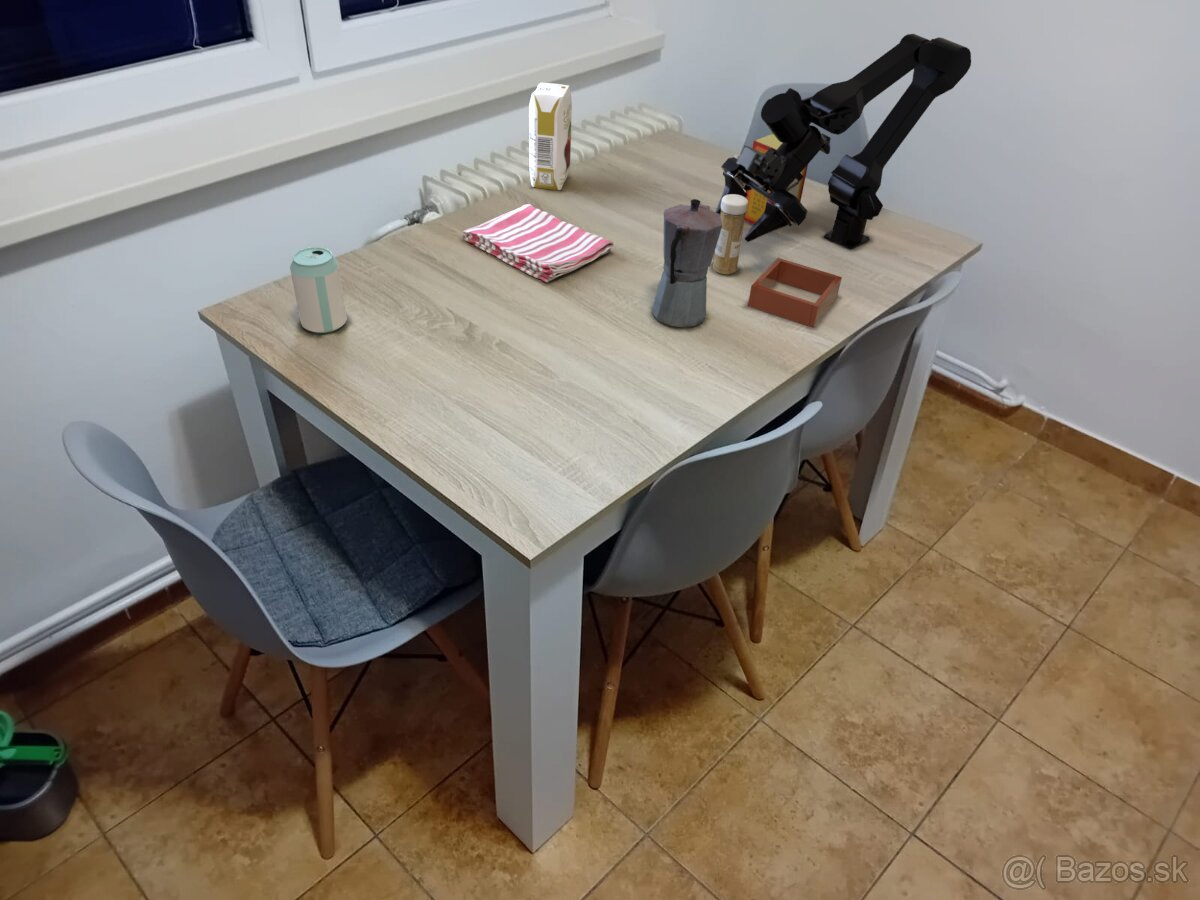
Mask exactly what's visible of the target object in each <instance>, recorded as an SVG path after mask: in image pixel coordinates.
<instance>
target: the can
mask: <svg viewBox="0 0 1200 900" xmlns="http://www.w3.org/2000/svg"><path fill="white" fill-rule="evenodd" d="M289 269H290V274H291V279H292V285H293V290H294V295H295V301H296V305H297V311H298V315H299V320H300V325H301V326H302V328H304V329H305V330H306V331H309V332H312V333H316V334H327V333H328V334H329V333H332V332H334V331H337V330H338V329H340V328H341V327H343V325H345V324H346V323H347V320H348V316H347V311H346V310H347V309H346V304H345V298H344V291H343V290H344V289H343V284H342V278H341V277H342V276H341V273H340V265H339V261H338V259H337V258H336V257H334V255H333V252H332V251H331V250H330V249H328V248H325V247H322V246H308V247H304V248H302V249H299V250H297V251H296V252H295V253H294V254H293V255H292V262H291V263H290V266H289Z"/></svg>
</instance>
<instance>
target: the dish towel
mask: <svg viewBox="0 0 1200 900" xmlns="http://www.w3.org/2000/svg"><path fill="white" fill-rule="evenodd" d="M461 236H462V238H463V240H464V241H466V242H467V243H470V244H472V245H474V246H475V247H477V248H479V249H480V250H482V251H484V252H487V253H488V254H491V255H493V256H494V257H496V258H497V259H498V260H501V261H502V262H504V263H505V264H508V265H509V266H511V267H514V268H516V269H518V270H520V271H521V272H523V273H525V274H526V275H527V274H528V275H529V276H531V277H533V278H535V279H538V280H541V281H542V282H544V283H549V282H551V281H553V280H555V279H557V278H558V277H561V276H563V275H567V274H569V273H571V272H573V271H576V270H578V269H579V268H581V267H583V266H584V265H587V264H589V263H592V262H593V261H595V260H596V259H599V257H602V256H604V255H606V254H608V253H610V251H611V250H612V249H613V247H614V243H615V242H613V241H611V240H608V239H606V238H604V237H602V236H600V235H597V234H594V233H592V232H588V231H585V230H584V229H582V228H580V227H579V226H576V225H574V224H573V223H569V222H567V221H564V220H562V219H560V218H558V217H556V216H555V215H553V214H551V213H549V212H547V211H544V210H542V209H539V208H537V207H535V206H533V205H532V204H531V203H526V204H523V205H521V207H518V208H516V209H513V210H511V211H509V212H506V213H503V214H501V215H499V216H497V217H495V218H493V219H489V220H488V221H485V222H484V223H482V224H480V225H477V226H474V227H470V228H467V229H465V230H463V231H462V232H461Z"/></svg>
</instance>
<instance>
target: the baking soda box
mask: <svg viewBox="0 0 1200 900" xmlns="http://www.w3.org/2000/svg"><path fill="white" fill-rule="evenodd" d="M782 143H783V142H780V141H778V139H777V138H776V137H775V135H774V134H773V133H771V134H767V135H766V136H763V137H761V138H758V139H755V140H753V142H752V148H753V149H755V150H758V151H760V152H762V153H766V152H767V151H768V149H771V148H773V149H775V150H777V149H778V147H779V146H780V145H781V144H782ZM808 166H809V164H808V165H807V166H806V167H805V168H804V169H803V171H802V172H801V174H802V176H803V178H802V179H801V180H800V182H799V181H798V180H796V179H795V180H794V181H793V182H792V183H791V184H790V186H789V187H788V188H787V189H786V191H788V192H789V193H791V194H793V195H794V196H796V197H797V199H798V200H799V201H800V202H801V203H802V197H803V192H804V187H805V182H806V177H807V173H808V168H809V167H808ZM758 187H759V188H761V187H760V186H758ZM745 192H746V193H747V194H748V196H746V197H745V198H746V199H747V200H748V208H747V212H746V214H745V219H744V222H747V223H749V224H751V225H752V226H753V225H754V224H755V223H756V222H757V220H758V219H759V218H760V217H761V215H762V214H763V213H764V211H765V207H766V203H767V200H768V201H769V202H771V203H772V204H774V205H775V203H773V202H772V201H770V200H769V199H767V198H766V197H764V196H763V195H761V194H760V193H758V192H757V191H755V190H754V189H752V190H748V191H745ZM767 192H768V193H771V192H770V191H767Z"/></svg>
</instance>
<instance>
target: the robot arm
mask: <svg viewBox="0 0 1200 900" xmlns="http://www.w3.org/2000/svg"><path fill="white" fill-rule="evenodd" d="M971 66H972V53H971V50H970V48H968V47H967V46H964V45H961V44H959V43H957V42H954V41H951V40H949V39H947V38H944V37H940V36H939V37H936V38H931V39H928V38H925V37H923V36H921V35H918V34H915V33H907V34H905V35H904V36H902V38H901V39H900V41H899V42H898V44H896V45H894V46H893V47H892V48H891V49H889V50H888V51H887V52H885V53H884V54H883V55H881V56H879V58H877V59H875V60H874V61H873V62H872V63H870V64H868V66H866V67H865V68H863V69H862V70H861V71H859V72H858V73H857V74H856V75H854V76H852V77H851V78H849V79H848V80H844V81H840V82H835V83H831V84H830V85H828V86H825V87H824V88H822V89H820V90H818V91H817V92H816V93H815V94H813V95H812V96H809V97H806V98H804V99H802V96H801V94H800V92H798V90H795V89H793V88H792V87H788V89H787V90H786V91H785V92H782V93H781V92H780V93H778V94H776V95H773V96H772V97H771V98H769V99H767V100H766V101H765V103H764V104H763V106H762V109H761V111H760V118H761V120H762V122H764V124H765V125H766V127H768V129H769V130H770V131H771V134H772V135H773V134H774V135H775V137H776V138H777V139H778V141H780V142H783V143H782V144H781V145H780V146H779V147H778V149H777V150H775V149H773V148H771V149H768V151H767V152H766V153H762V152H760V151H758V150H755V149H753V147H750V146H748V145H743V147H742V149H741V152H740V153H739V154H740V156H739V158H738V159H736V158H735V157H734V156H733V157H728V158H727V159H726V160H725V162H723V164H722V165H721V167H720V168H721V169H722V170H723V171H722V176H723V177H724V188H723V191H722V194H721V196H720V197H721V198H720V200H719V202H718V204H717V207H716V208H715V211H714V212H716V213H718V214H720V215H721V201H722V198H723V197H724V196H726V195H729V194H736V195H741V196H743V197H746V196H748V194H747V193H746V191H748V190H752V189H754V190H755V191H757V192H758V193H760V194H761V195H763V196H764V197H766V198H767V199H769V200H770V201H772V202H773V203H775V205H774V204H772V203H771V202H769V201H768V200H767V203H766V207H765V211H764V213H763V214H762V215H761V217H760V218H759V219H758V220H757V222H756V223H755V224H754V225H753V224H752V226H751V227H750V229H749V230H748V232H747V233H746V234H745V235H744V238H743V240H744V241H745V242H747V243H749V242H751V241H754V240H756V239H758V238H760V237H763V236H765V235H767V234H769V233H772V232H774V231H776V230H777V231H778V230H779V229H782V228H785V227H790V228H791V227H792V226H793V225H796V226H797V227H799V226H801V224H802V223H803V222H804V221H805V220H806V217H807V214H808V209H806V207H805V206H804V204H802V201H801V202H800V201H799V200H798V199H797V197H796V196H794V195H793V194H791V193H789V192H788V191H786V189H787V188H788V187H789V186H790V184H791V183H792V182H793V181H794V180H795V179H796V180H798V181H799V182H800V180H801V179H802V178H803V176H802V174H801V172H802V171H803V169H804V168H805V167H806V166H807V165H808V166H809V164H810V163H811V161H812V160H813V159H814V158H815V157H816V156H817V155H818V153H819V152H822V153H824V154H825V155H829V154H830V153H831V139H832V138H831V137H830V136H829V135H827V134H825V133H822V132H821V131H820V129H819V128H821V129H823V130H824V131H826V132H828V133H830V134H831V135H841V134H843V133H845V132H846V131H848V129H850V128H851V126H853V125H854V124H855V123H856V122H857V121H858V120H859V119H860V118H861V116H862V113H863V111H864V109H865V106H867V104H869V102H871V101H873V100H874V99H875V98H877V97H878V96H879V95H880V94H882V93H883V92H885V91H886V90H887V89H888V88H890V87H892V85H894V84H895V83H897V82H898V81H899V80H901V79H902V78H903V77H905V76H906V75H907V74H908V73H910V72H911V71H912V72H913V73H912V80H911V82H910V84H909V86H908V87H907V88H906V89H905V90H904V92H903V93H902V95H901V96H900V98H899V99H898V101H897V102H896V103H895V104H894V106H893V107H892V109H891V110H890V111H889V113H888V114H887V116H886V117H885V118H884V120H883V121H882V122H881V124H880V126H879V127H878V128H877V130H876V131H875V132H874V134H873V135H872V136H871V137H870V139H869V140H868V141H867V143H866V145H865V146H864V148H862V150H861V151H860V152H859V153H857V154H856V155H853V156H850V155H848V154H845V155H844V156H842V158H841V159H840V161H839V163H838V164H837V165H836V167H835V168H834V169H833V170H832V171H831V172H830V174H832V175H831V176H830V177H829V179H828V181H827V185H828V188H827V190H828V194H829V202H830V203H832V204H834V205H835V206H837V207H838V208H837V210H836V214H835V218H834V222H833V226H832V230H830V231H829V232H826V233H825V234H823V237H824V238H825V239H827V240H829V241H831V242H833V243H836V244H837V245H840V246H841V247H844V248H846V249H848V250H853V249H855V248H857V247H859V246H861V245H864V244H865V243H867V242H869V241H870V240H871V237H870V236H869V235H866V234H865V231H866V227H867V223H868V221H872V220H873V219H874V218H876V217H878V216H879V215H880V213H881V211H882V209H883V207H884V205H883V203H882V201H881V200H880V198H879V197H878V195H877V192H878V191H879V189H880V187H881V185H882V179H883V171H884V168H885V167H886V165H887V164H888V162H889V161H890V159H892V157H893V155H894V154H895V153H896V151H897V150H898V149H899V148H900V146H901V144H902V143H903V142H904V140H905V139H906V138H907V136H908V135H909V134H910V133H911V132H912V130H913V128H914V127H915V126H916V124H917V123H918V122H919V121H920V119H921V118H922V116H923V115H924V114H925V112H926V111H927V109H929V107H930V105H931V104H932V102H933V101H934V100H935V99H936V98H938V97H940V96H941V95H943V94H945V93H947V92H949V91H951V90H953V89H954V88H955V87H956V86H957V84H958V83H959V82H960V81H961V80H962V79H963V78H964V77H965V76H966V75H967V73H968V71H969V70H970V68H971ZM811 124H813V125H811ZM814 125H815V126H814ZM816 126H817V127H816ZM818 127H819V128H818ZM758 186H760V187H761V188H759V187H758ZM767 191H770V192H771V193H768V192H767Z"/></svg>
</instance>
